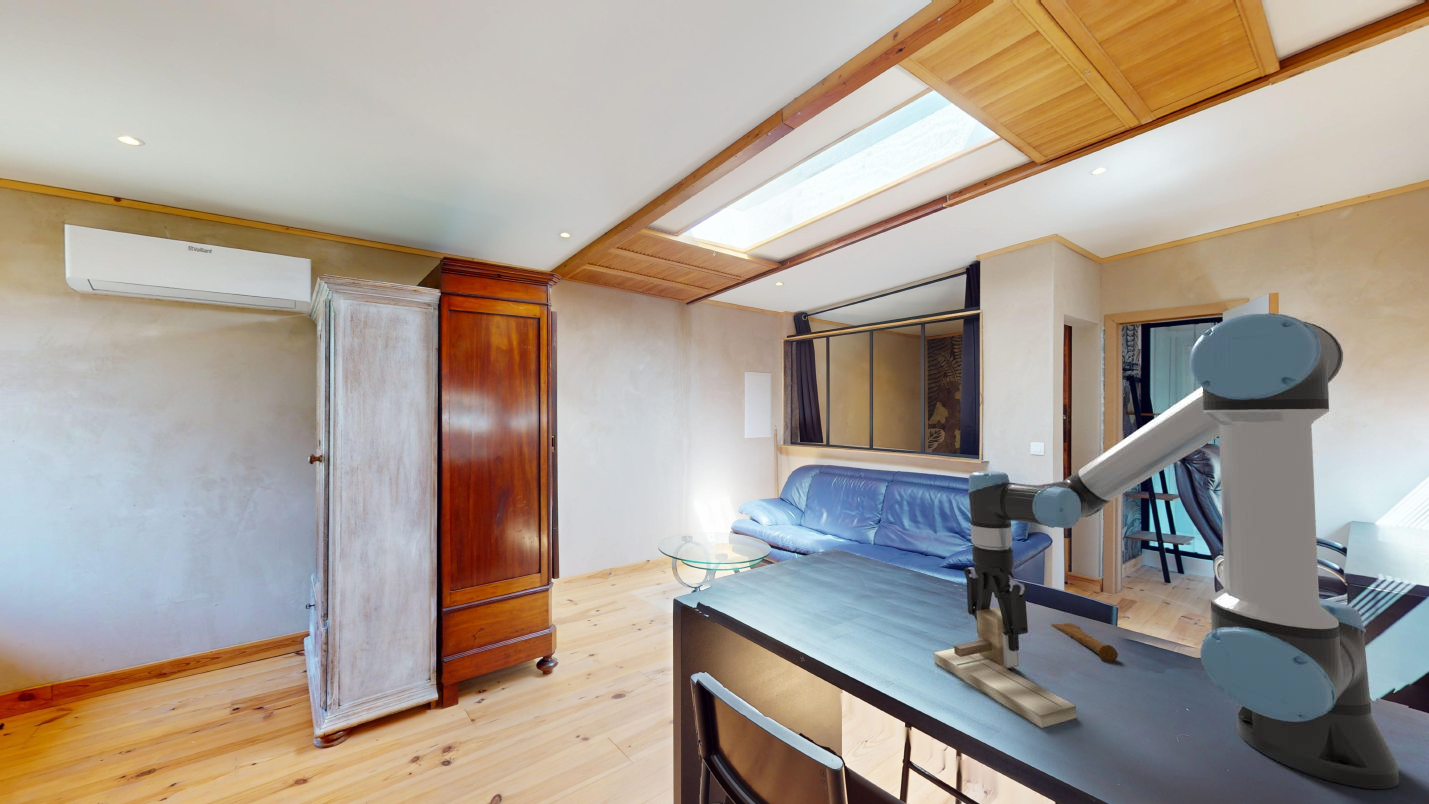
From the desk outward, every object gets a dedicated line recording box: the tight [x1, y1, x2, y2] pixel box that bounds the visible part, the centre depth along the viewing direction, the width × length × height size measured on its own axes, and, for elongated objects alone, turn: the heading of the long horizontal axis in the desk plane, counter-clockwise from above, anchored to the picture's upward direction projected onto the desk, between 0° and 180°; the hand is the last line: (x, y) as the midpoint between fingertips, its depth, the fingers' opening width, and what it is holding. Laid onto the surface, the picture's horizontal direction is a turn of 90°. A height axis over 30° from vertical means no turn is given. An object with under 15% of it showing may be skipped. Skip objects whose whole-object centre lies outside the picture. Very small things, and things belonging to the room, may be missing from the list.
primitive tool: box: [1050, 622, 1119, 662], centre depth 110 cm, size 19×6×4 cm, turn 173°
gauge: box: [953, 607, 1020, 670], centre depth 99 cm, size 5×13×10 cm, turn 108°
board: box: [933, 648, 1077, 729], centre depth 92 cm, size 24×8×2 cm, turn 18°
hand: (998, 658), depth 100 cm, fingers closed on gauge, 5 cm apart
